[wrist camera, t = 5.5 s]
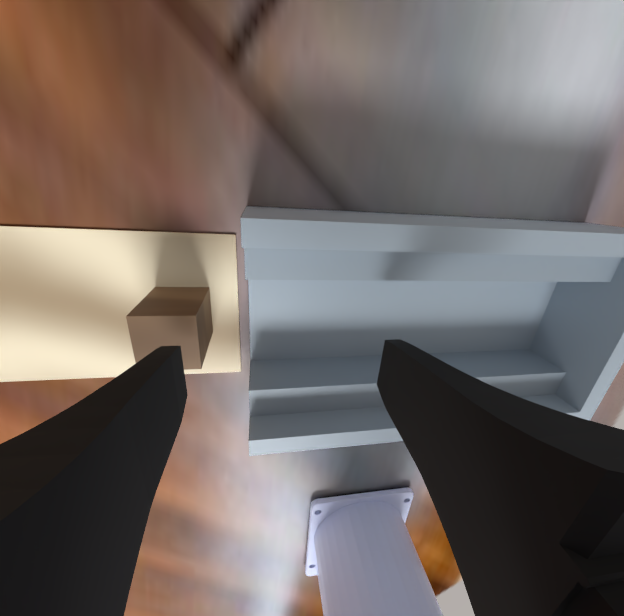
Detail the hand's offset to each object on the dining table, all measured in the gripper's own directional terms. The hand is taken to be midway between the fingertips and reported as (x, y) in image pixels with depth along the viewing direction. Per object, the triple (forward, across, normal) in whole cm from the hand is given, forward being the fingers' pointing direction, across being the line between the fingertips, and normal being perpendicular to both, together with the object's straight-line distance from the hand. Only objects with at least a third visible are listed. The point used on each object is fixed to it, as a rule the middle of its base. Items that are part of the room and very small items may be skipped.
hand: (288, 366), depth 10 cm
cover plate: (+6, +10, 0) cm, 11 cm away
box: (+5, -8, 0) cm, 9 cm away
